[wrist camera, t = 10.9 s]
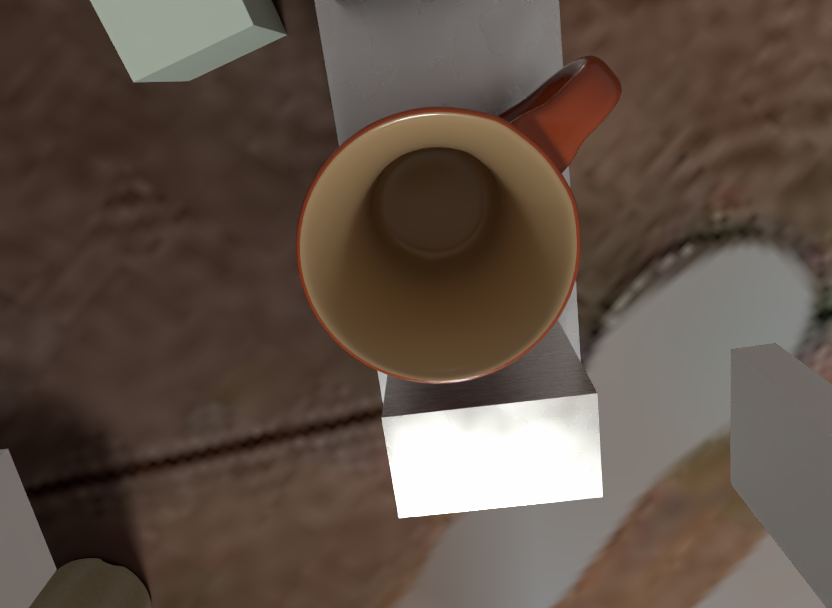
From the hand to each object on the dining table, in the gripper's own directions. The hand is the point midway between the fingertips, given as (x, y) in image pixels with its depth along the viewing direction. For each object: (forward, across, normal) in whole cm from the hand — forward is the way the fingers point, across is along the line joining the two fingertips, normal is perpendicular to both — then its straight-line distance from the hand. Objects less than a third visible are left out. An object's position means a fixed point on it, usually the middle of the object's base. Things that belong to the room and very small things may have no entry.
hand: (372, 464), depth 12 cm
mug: (+20, +3, +2) cm, 20 cm away
